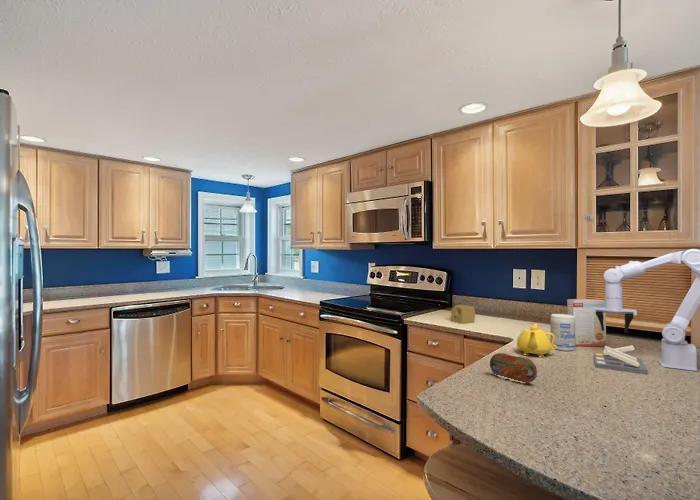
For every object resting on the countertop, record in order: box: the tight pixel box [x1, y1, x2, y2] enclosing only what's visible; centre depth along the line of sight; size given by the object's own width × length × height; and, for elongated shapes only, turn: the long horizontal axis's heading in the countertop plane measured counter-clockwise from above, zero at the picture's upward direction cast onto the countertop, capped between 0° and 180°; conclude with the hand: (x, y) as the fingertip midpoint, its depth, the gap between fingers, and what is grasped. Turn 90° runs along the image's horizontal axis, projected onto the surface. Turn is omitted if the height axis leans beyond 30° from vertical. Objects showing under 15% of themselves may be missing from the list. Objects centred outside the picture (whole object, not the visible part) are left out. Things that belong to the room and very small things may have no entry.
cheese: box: [449, 304, 476, 325], centre depth 222 cm, size 10×11×10 cm
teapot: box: [516, 322, 557, 358], centre depth 151 cm, size 20×15×12 cm
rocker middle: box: [603, 345, 637, 361], centre depth 136 cm, size 10×3×1 cm, turn 58°
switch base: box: [593, 352, 649, 375], centre depth 136 cm, size 15×16×3 cm
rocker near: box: [604, 349, 640, 367], centre depth 131 cm, size 10×3×1 cm, turn 58°
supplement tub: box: [550, 313, 576, 352], centre depth 160 cm, size 10×10×15 cm
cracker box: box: [566, 298, 607, 348], centre depth 166 cm, size 14×6×21 cm, turn 84°
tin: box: [489, 352, 538, 385], centre depth 121 cm, size 15×3×8 cm, turn 40°
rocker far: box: [602, 345, 635, 355], centre depth 141 cm, size 10×3×1 cm, turn 58°
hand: (614, 331), depth 148 cm, fingers open, 7 cm apart
